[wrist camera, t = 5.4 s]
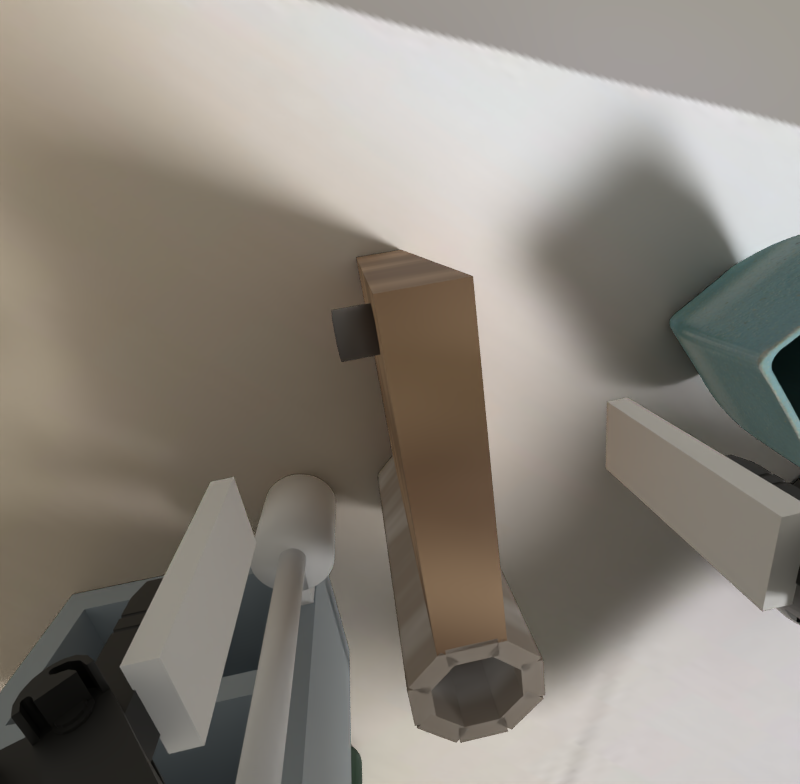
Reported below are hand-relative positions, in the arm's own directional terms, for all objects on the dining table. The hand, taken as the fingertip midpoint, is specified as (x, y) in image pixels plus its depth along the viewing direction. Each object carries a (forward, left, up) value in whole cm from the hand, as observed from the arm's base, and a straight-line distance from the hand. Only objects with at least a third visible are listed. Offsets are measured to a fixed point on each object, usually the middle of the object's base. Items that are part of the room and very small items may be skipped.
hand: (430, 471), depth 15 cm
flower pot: (-20, +1, -11) cm, 23 cm away
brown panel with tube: (0, +2, -11) cm, 11 cm away
